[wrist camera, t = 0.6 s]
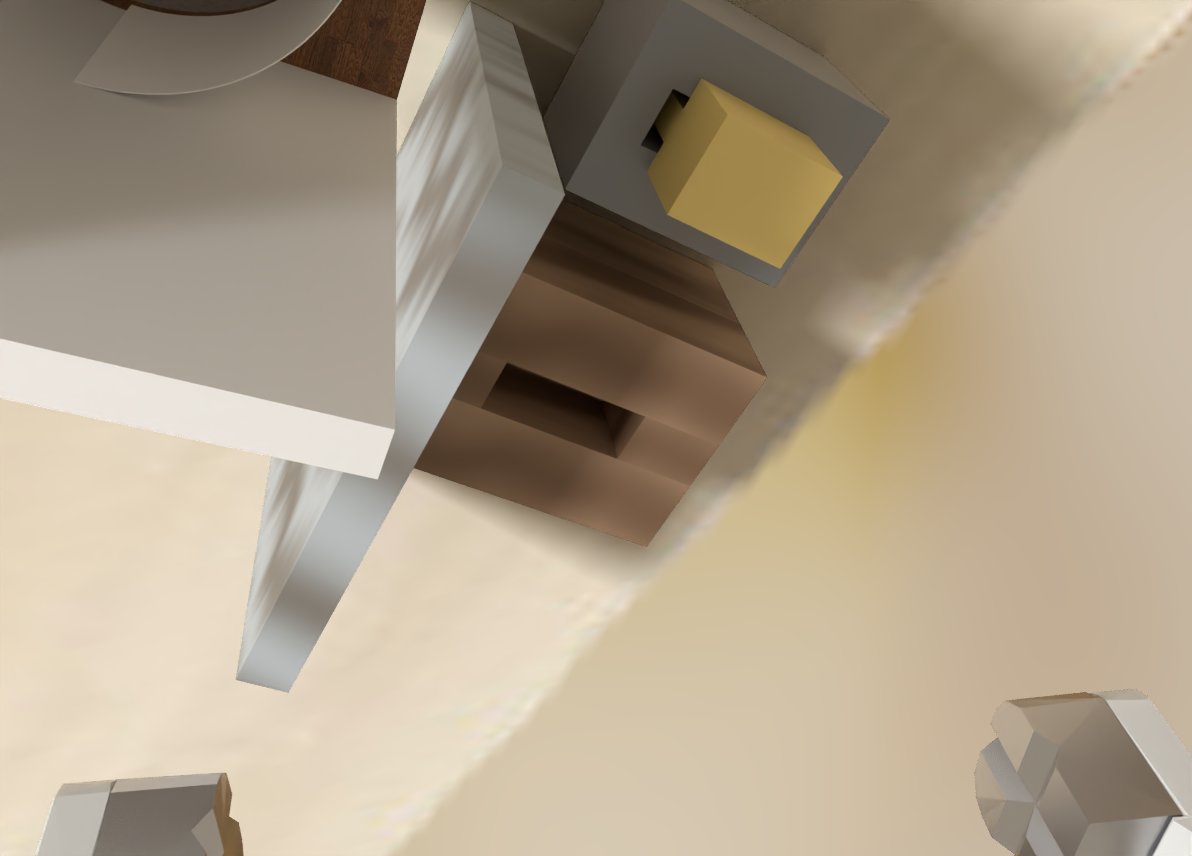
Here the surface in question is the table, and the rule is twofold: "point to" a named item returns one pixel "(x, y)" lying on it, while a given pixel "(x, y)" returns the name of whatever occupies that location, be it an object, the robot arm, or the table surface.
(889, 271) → the table surface
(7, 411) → the table surface
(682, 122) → the yellow tabbed block
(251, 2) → the display case
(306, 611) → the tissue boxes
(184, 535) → the table surface
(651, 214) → the dark gray slotted block
